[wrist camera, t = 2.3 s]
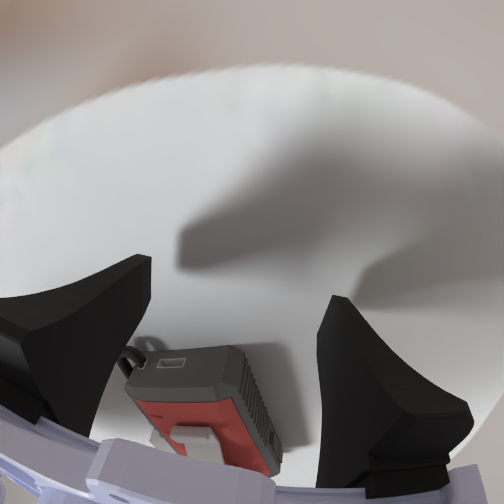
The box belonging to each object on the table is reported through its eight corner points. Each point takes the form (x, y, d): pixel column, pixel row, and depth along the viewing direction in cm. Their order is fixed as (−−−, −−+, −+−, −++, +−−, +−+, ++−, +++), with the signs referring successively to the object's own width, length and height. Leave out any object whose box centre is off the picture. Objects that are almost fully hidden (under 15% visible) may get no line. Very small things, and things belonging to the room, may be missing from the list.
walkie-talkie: (98, 334, 17) (209, 479, 25) (63, 387, 13) (202, 516, 21) (239, 320, 15) (298, 478, 23) (224, 392, 11) (297, 518, 19)
